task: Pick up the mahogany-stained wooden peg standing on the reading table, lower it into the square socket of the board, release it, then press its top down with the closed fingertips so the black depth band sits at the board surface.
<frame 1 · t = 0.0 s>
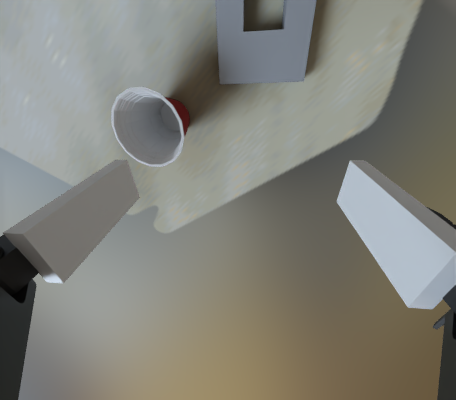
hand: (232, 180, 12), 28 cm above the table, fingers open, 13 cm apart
board: (263, 8, 28), on the table
plastic cup: (174, 115, 37), on the table
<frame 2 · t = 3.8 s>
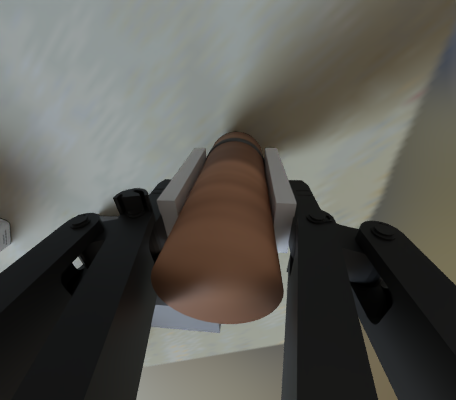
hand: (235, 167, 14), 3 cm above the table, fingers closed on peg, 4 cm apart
board: (169, 271, 25), on the table
peg: (237, 153, 16), on the table, touching gripper
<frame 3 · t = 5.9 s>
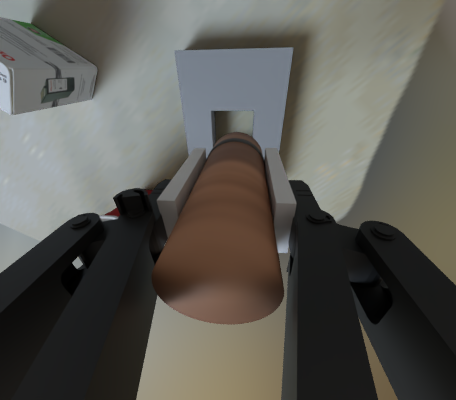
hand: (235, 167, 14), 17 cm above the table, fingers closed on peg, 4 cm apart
board: (234, 127, 29), on the table
peg: (237, 154, 16), point 14 cm above the table, touching gripper
ink box: (65, 64, 26), on the table
when the fingers open (3 cm above the table, at t = 8.0 s): peg stays where it is, resting in board.
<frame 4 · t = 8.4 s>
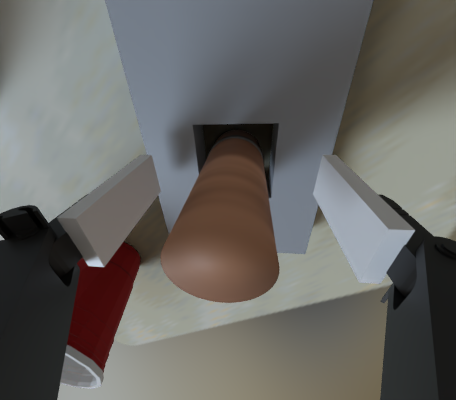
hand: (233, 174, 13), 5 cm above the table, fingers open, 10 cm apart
board: (237, 150, 17), on the table
peg: (237, 151, 17), resting in board
plastic cup: (119, 252, 26), on the table
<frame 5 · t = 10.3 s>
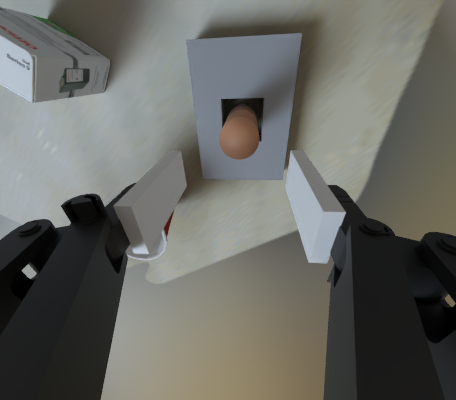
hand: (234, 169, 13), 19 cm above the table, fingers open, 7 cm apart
board: (242, 117, 29), on the table
peg: (242, 117, 29), resting in board
ink box: (79, 59, 27), on the table
plastic cup: (161, 193, 39), on the table
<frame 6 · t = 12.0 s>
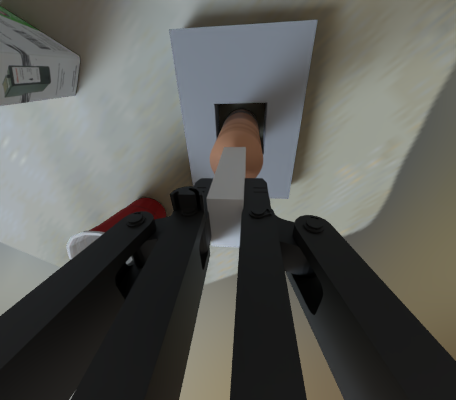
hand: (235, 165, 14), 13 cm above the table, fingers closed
board: (241, 124, 24), on the table
peg: (241, 124, 24), resting in board
ink box: (43, 54, 22), on the table
plastic cup: (149, 209, 34), on the table
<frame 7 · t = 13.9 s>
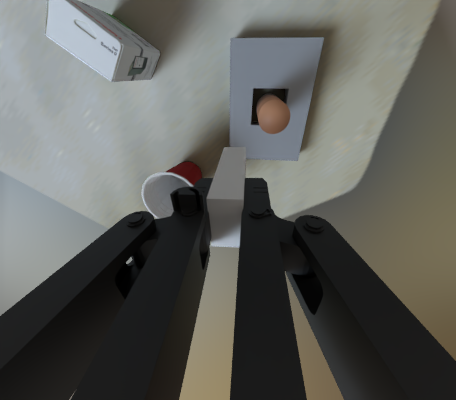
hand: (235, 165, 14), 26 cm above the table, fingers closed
board: (267, 105, 35), on the table
peg: (267, 105, 35), resting in board
ink box: (133, 49, 32), on the table
plastic cup: (188, 172, 44), on the table
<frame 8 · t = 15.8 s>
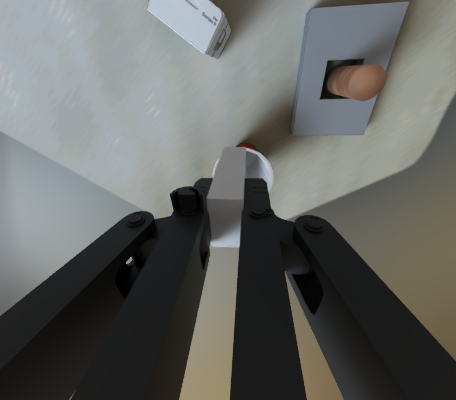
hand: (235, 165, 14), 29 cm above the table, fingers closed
board: (334, 79, 35), on the table
peg: (334, 79, 35), resting in board
ink box: (203, 29, 33), on the table
plastic cup: (243, 154, 44), on the table
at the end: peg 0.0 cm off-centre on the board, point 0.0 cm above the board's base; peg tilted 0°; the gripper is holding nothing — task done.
